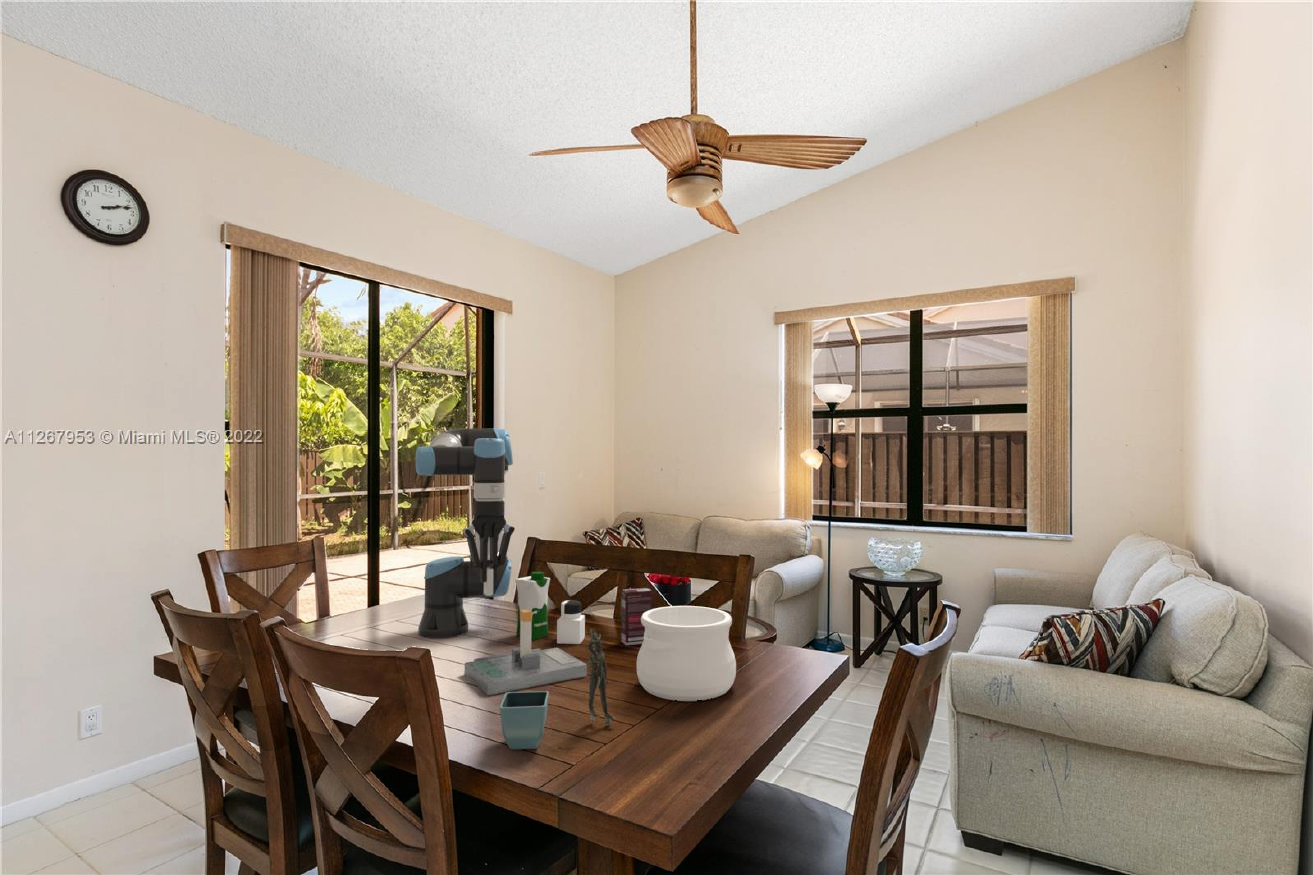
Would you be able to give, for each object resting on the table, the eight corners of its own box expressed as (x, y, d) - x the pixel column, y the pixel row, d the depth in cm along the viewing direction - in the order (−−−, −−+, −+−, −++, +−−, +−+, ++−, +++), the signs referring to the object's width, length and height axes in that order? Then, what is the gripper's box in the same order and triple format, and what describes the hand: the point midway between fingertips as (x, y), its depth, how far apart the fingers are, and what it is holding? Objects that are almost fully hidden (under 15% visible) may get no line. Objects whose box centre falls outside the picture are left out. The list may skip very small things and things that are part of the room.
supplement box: (647, 639, 212) (647, 587, 213) (652, 643, 208) (653, 590, 208) (620, 641, 209) (620, 589, 210) (625, 645, 205) (625, 592, 205)
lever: (519, 659, 179) (519, 609, 179) (526, 658, 180) (526, 609, 180) (524, 663, 175) (525, 613, 176) (532, 662, 176) (532, 612, 177)
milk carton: (532, 641, 209) (532, 575, 209) (511, 637, 214) (512, 572, 214) (552, 635, 216) (553, 571, 216) (532, 631, 221) (532, 568, 221)
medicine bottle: (585, 638, 213) (585, 599, 213) (580, 644, 206) (580, 604, 206) (562, 637, 214) (562, 598, 214) (556, 643, 207) (556, 603, 207)
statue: (607, 733, 142) (607, 635, 142) (582, 726, 145) (582, 631, 145) (619, 725, 146) (619, 629, 146) (594, 719, 149) (595, 626, 149)
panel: (464, 674, 178) (464, 651, 178) (557, 658, 192) (557, 636, 192) (488, 695, 163) (488, 670, 163) (586, 676, 177) (586, 652, 177)
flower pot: (504, 736, 140) (505, 691, 140) (548, 734, 141) (549, 690, 141) (498, 755, 131) (499, 707, 132) (545, 753, 132) (545, 706, 132)
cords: (468, 668, 183) (468, 658, 183) (540, 656, 194) (541, 646, 194) (473, 673, 179) (473, 662, 179) (547, 660, 190) (547, 650, 190)
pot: (686, 664, 187) (686, 599, 188) (758, 687, 170) (758, 615, 170) (613, 687, 169) (613, 615, 169) (686, 715, 152) (686, 635, 152)
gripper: (468, 501, 166) (467, 600, 166) (519, 499, 173) (518, 594, 173) (458, 499, 173) (457, 594, 172) (508, 498, 180) (507, 589, 179)
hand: (488, 594), depth 172 cm, fingers closed
